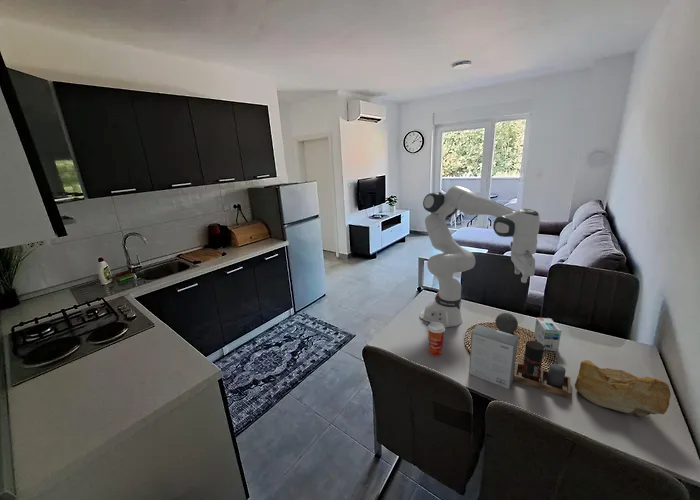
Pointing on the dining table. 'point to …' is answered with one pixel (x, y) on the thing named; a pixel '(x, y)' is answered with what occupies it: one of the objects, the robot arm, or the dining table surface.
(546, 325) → the light bulb box
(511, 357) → the hard drive box
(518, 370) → the walnut rack
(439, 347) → the red and orange canister
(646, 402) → the rough brown rock
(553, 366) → the black rubber plug
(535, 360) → the deodorant
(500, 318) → the decorative ball
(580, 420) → the dining table surface
